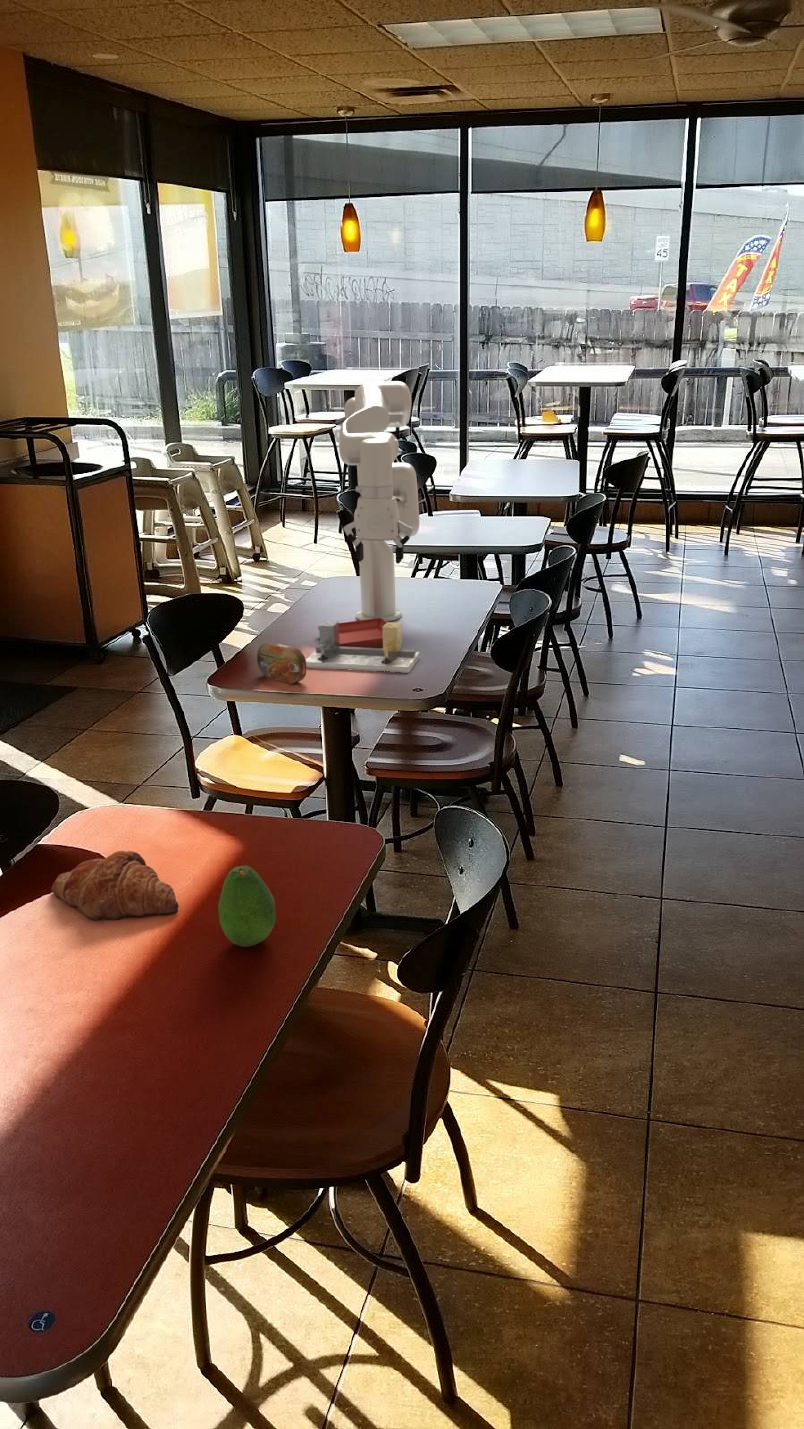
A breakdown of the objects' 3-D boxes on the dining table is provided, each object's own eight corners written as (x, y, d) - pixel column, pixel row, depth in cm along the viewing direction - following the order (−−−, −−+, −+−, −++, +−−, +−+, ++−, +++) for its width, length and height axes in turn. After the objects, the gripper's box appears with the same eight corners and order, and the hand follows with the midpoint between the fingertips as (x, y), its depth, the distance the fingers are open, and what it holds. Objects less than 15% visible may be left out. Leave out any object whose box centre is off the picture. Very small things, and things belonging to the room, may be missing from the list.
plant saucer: (335, 656, 286) (334, 643, 285) (316, 637, 302) (316, 625, 301) (403, 647, 291) (403, 634, 290) (381, 629, 307) (381, 617, 306)
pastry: (62, 940, 162) (55, 890, 160) (51, 891, 176) (44, 845, 173) (180, 915, 168) (175, 866, 165) (161, 870, 182) (156, 824, 179)
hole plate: (319, 653, 287) (317, 619, 284) (419, 657, 281) (418, 623, 278) (303, 667, 276) (301, 633, 273) (408, 673, 270) (407, 637, 267)
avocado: (211, 952, 158) (203, 875, 154) (238, 924, 165) (231, 849, 160) (262, 962, 155) (256, 884, 151) (288, 933, 162) (283, 858, 158)
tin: (257, 674, 273) (254, 641, 270) (267, 671, 275) (264, 638, 272) (299, 687, 263) (297, 652, 260) (309, 684, 265) (307, 649, 262)
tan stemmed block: (388, 649, 282) (387, 622, 279) (402, 650, 281) (401, 622, 278) (378, 660, 274) (377, 632, 271) (393, 660, 273) (392, 632, 270)
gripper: (337, 494, 271) (341, 564, 278) (408, 496, 268) (410, 567, 274) (346, 487, 278) (349, 555, 285) (416, 489, 274) (417, 558, 281)
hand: (379, 561), depth 280 cm, fingers open, 9 cm apart
